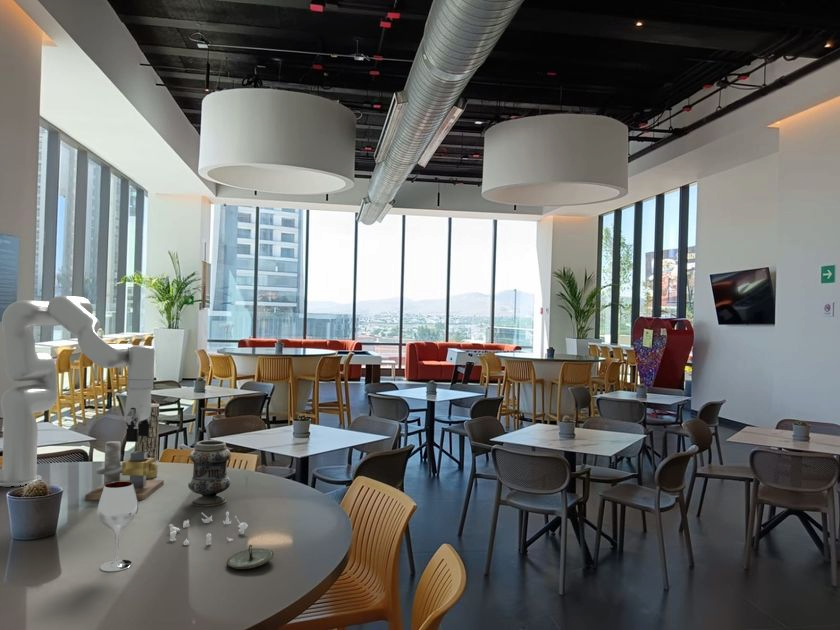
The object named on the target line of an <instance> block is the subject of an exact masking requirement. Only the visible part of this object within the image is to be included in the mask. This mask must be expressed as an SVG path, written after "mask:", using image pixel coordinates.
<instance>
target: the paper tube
mask: <svg viewBox="0 0 840 630" xmlns="http://www.w3.org/2000/svg"><path fill="white" fill-rule="evenodd" d="M149 419H150V423H148V424H149V436H139V435H138V440H137V442H136V451H147V458H154V463H156V464H157V467H156V470H155V471H152V472H151V473H149V474H148V475H146V480H151V479H154V478H157V476H158V464H159V430H160V429H159V427H160V403H152V402H151V414H150V418H149ZM139 423H140V422H139ZM139 423H138V426H137V429H139Z"/></svg>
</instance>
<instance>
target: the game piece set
mask: <svg viewBox="0 0 840 630" xmlns="http://www.w3.org/2000/svg"><path fill="white" fill-rule="evenodd" d="M201 515H202V516H203V517H205V518H202V517H201V520H202V522H203V523H204V524H209V523H210V522H213V521H214V520H213V515H211V516H209V517H208V516H207V515H206V514H204V512H201ZM229 515H230V512H229V511H228V510H227V511H226V512H225V516H226V517H225V520H222V522H223V523H222V524H223V525H230V524H232V520H230V518H229ZM234 518H236V521H237V522H238V523H239V525H237V528H238V532H239V533H240V535H244V534H245V530H246V529H248V524H247V523H246V522H240V521H239V519H238V517H237V515H235V516H234ZM168 527H169V531H170V533H169V535H170V538H169V541H170V542H175V541H177V538H176V536H177V532H180V531H181V528H179V527H177V526H174V525H173V523H171V524H168ZM189 527H190V520H189V519H187V520H183V523H182V528H189ZM205 539H206V545H207V546H210V545H211V544H212V534H211V533H207V534H206V537H205ZM226 539H227V542H229V543H230V542H232V541H234V539H233V538H229V537H228V536H227V537H226ZM183 545H184V546H189V545H190V541H189V540H188V538H187V537H186V538H185V540H184V541H183Z"/></svg>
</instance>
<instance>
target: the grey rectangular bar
mask: <svg viewBox="0 0 840 630" xmlns="http://www.w3.org/2000/svg"><path fill="white" fill-rule="evenodd" d="M130 458H131V459H130V462H145V461H146V459H147V451H137V450H135V451H131V453H130ZM129 480H130V482H132V483H133V486H134V489H137V488H144V487H145V486H146V480H147V479H146V476H144V475H129Z"/></svg>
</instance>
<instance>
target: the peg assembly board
mask: <svg viewBox="0 0 840 630" xmlns="http://www.w3.org/2000/svg"><path fill="white" fill-rule="evenodd" d="M121 446H122V445H121V441H119V440H114V441H113V440H112V441H106V442H105V444H104V447H105V448H104V465H101V466H98V467H97V468H95V471H96V472H95V473H96V474H98V475H103V477H104V478H103V484H101V485H99V486H98V487H96V488H95V489H93V490H91V491H90V492H88V493H86V494H85V496H84V497H85V499H84V500H85V501H87V500H89V501H91V500H92V501H94V500H95V501H97V500H98V501H100V498H101V495H102V492H103V489H104V485H106V484H108V483H112V482H119V481H127V482H130V479H121V476H130V475H144V476H146V475H148V474H149V473H151V472H152V471H155V470H156V467H157V464H156V463H154V458H147V459H146V461H145V462H130V459H131V457H129V458H128V459H126V460H124V461H123V462H122V461H121V450H122V449H121ZM120 475H121V476H120ZM164 483H165V481H164V480H161V479H146V486H145V487H144V488H137V489H135V493H136V497H137V501H144V500H146V499H147V498H148V497H149V496H151V495H152V494H153V493H154V492H155V493H156V491H157V490H159V489H160V488H161V487H163V486H164ZM162 485H163V486H162Z"/></svg>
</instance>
